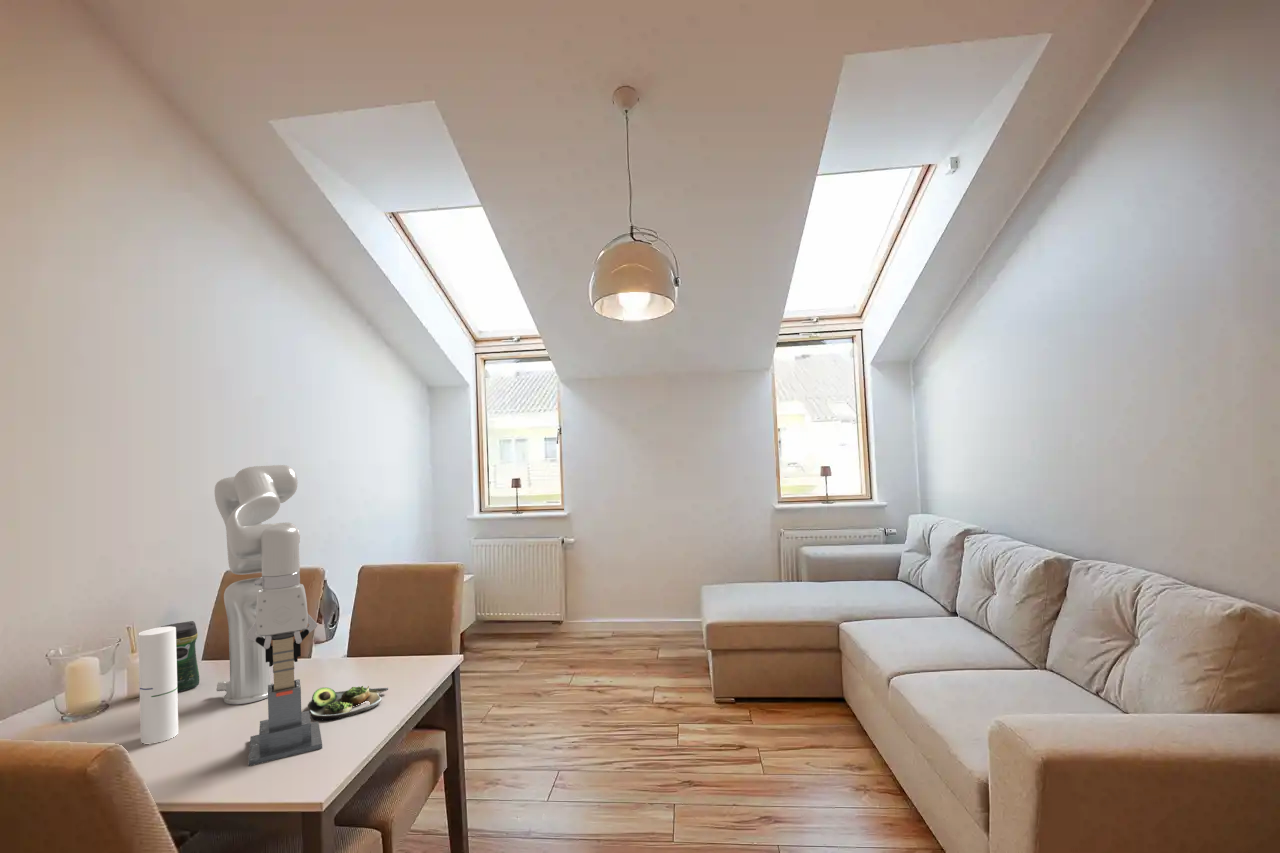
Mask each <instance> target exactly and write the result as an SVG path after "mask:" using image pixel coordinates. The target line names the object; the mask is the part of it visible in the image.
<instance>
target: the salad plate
mask: <svg viewBox="0 0 1280 853" xmlns="http://www.w3.org/2000/svg"><path fill="white" fill-rule="evenodd" d="M388 690H389V687H378V688H371V687H370V686H369V685H367V687H364V685H362V686H357V687H356V686H352V687H351V688H349V689H347V690H343V691H335V690H334V689H332V688H330V687H320V688H317V689H316V690H315V691H314V692H313V694H312V696H311V700H310V701H308V703H307V708H308V710H307V711H309V713H310V718H312V719H313V720H315V721H319V722H320V721H323V722H324V721H325V722H326V721H332V720H333V719H334V720H339V719H342V717H343V718H346V717H349V715H350V716H353V714H354V715H356V713H357V714H360V713H363V712H366V711H368V709H369V710H372V709H374V708H375V707H376V706H378V705H379V704H380V703H381V702H382V697H381V696H380V694H381V693H384V692H387V691H388ZM365 701H369V702H370V705H368V704H367V705H366V706H364V707H361V708H358V709H355V710H352V709H353V708H354V707H353V706H355V707H357V706H356V705H358V704H361V703H363V702H365ZM358 706H359V705H358ZM352 707H353V708H352ZM371 708H372V709H371ZM365 710H366V711H365ZM362 711H363V712H362ZM359 712H360V713H359ZM338 718H339V719H338Z"/></svg>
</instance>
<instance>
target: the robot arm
mask: <svg viewBox="0 0 1280 853" xmlns="http://www.w3.org/2000/svg"><path fill="white" fill-rule="evenodd" d="M298 483H299V482H298V477H297V473H296V472H295V470H294V469H293V468H292V467H291V466H289V465H285V464H276V465H275V464H274V465H259V466H258V465H255V466H249V467H245V468H242V469H240V470H239V471H238V472H237V473H236V474H235V476H228V477H225V478H221V479H219V480H218V481H217V482H216V483H215V486H214V500H215V501H214V502H215V504H216V506H217V507H216V508H217V510H218V512H219V514H220V516H221V518H222V520H223V522H224V525H225V530H226V531H225V534H226V549H227V561H228V563H227V564H228V567H229V570H230V571H231V573H233V574H234V575H239V576H240V575H251V574H258V573H259V574H260V573H261V576H260V577H259V576H258V577H253V578H247V579H246V578H245V579H241V580H238V581H234V582H233V583H230V584H229V585H227V587H225V590H224V593H223V601H224V602H223V603H224V607H225V612H226V617H227V625H228V626H227V627H228V643H229V644H228V646H229V650H228V652H229V678H230V679H229V681H218V682H217V684H216V692H225V694H224V695H223V702H224V703H226V704H228V705H243V704H250V703H256V702H259V701H262V700H265V699H268V685H272V684H274V682H272V676H271V674H272V673H271V670H272V669H271V668H272V667H273V654H272V653H273V644H272V640H271V639H272V638H271V636H272V635H278V634H284V633H291V632H294V636H293V647H294V651H293V653H294V663H297V662H299V661H298V658H300V657H301V656H302V655H301V654H302V653H301V651H302V650H301V648H302V647H301V644H302V642H303V640H304V639H305V638H306V637H307V636H308V635H309V634H311V633H312V631H314V630H315V629H316V628H318V623H317V622H316V621H315V619H313V617H312V616H311V615H310V614H309V613H308V602H307V601H308V600H307V594H306V589H305V586H304V584H303V583H301V576H300V575H301V574H300V573H301V567H300V542H301V541H300V539H301V534H300V530H299V528H297V526H296V525H295V524H294V523H292V522H276V523H265V524H263V522H266V521H268V520H270V519H272V517H274V516H276V514H277V513H278V512H279V510H280V508H281V504H284V503H285V502H287V501H288V500H289V499H291V498H292V497H293V496H294V495H295V494H296V493H297V489H298Z"/></svg>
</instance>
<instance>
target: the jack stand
mask: <svg viewBox="0 0 1280 853" xmlns="http://www.w3.org/2000/svg"><path fill="white" fill-rule="evenodd" d="M294 682H295V688H291V689H285V690H280V691H275V692H274V683H273V684H272V685H268V698H267V710H268V712H267V713H268V718H267V719H263V720H260V721H259V730H258V732H259V734H256V735H251V736H250V738H249V750H248V767H250V765H251V766H254V764H255V765H259V764H263V763H267V761H268V762H271V761H275V760H279V759H283V758H288V757H292V756H296V755H300V754H304V753H309V752H314V751H316V750H320V749H323V740H322V739H323V738H322V734H321V727H320V723H319V722H320V721H314V722H311V715H310V713H309V711H308V710H305V711H302V689H301V679H294ZM262 762H263V763H262ZM258 763H259V764H258Z"/></svg>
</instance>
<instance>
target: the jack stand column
mask: <svg viewBox="0 0 1280 853" xmlns="http://www.w3.org/2000/svg"><path fill="white" fill-rule="evenodd" d="M271 638H272V639H271V641H272V646H273V653H272V654H273V666H272V673H273V684H274V692H275V691H280V690H285V689H291V688H295V682H294V680H295V662H294V647H293V642H294V632H291V633H284V634H278V635H272V636H271Z"/></svg>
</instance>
